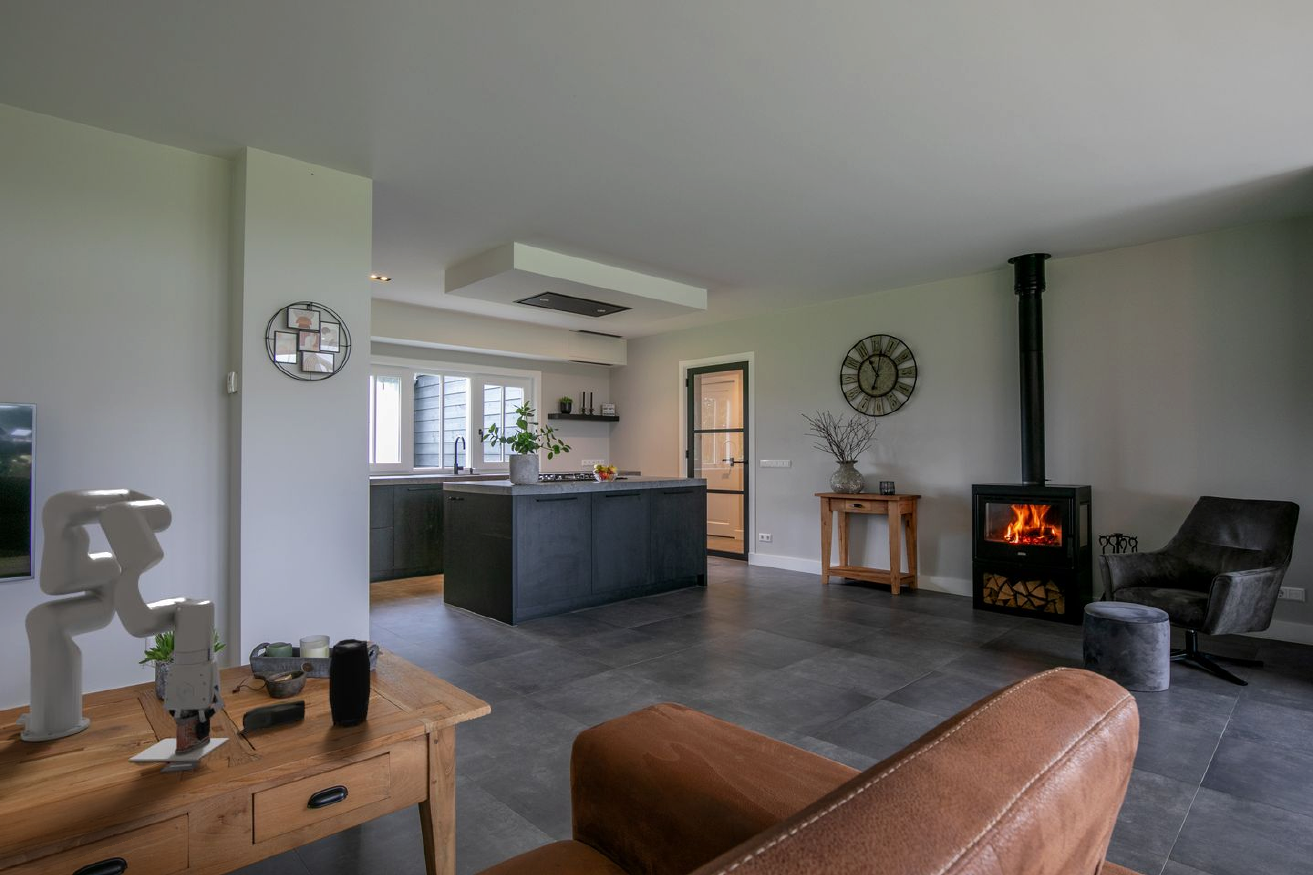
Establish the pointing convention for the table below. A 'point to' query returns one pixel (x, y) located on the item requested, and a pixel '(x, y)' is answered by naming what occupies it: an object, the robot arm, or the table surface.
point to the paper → (167, 751)
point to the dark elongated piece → (273, 716)
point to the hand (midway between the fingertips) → (193, 736)
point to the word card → (180, 766)
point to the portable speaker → (349, 682)
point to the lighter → (188, 733)
